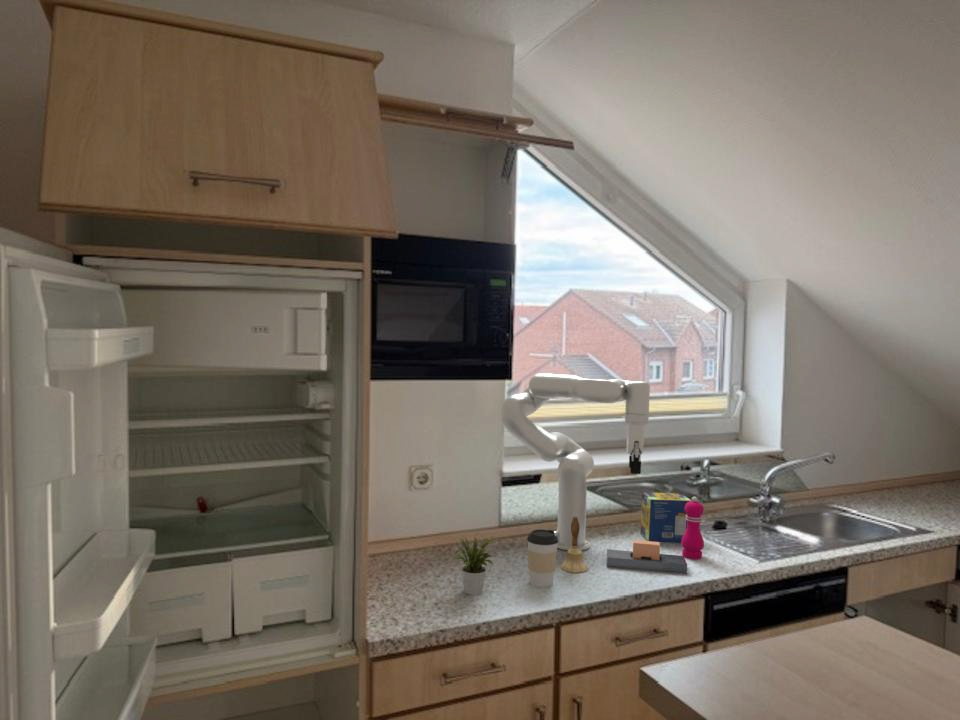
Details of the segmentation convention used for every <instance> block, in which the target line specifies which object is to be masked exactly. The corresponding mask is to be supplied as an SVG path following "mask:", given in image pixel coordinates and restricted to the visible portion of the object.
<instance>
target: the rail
mask: <svg viewBox="0 0 960 720" xmlns="http://www.w3.org/2000/svg"><path fill="white" fill-rule="evenodd" d="M606 566H607V568H618V569H627V570H629V569H630V570H639V571H651V572H661V573H670V574H671V573H672V574H680V573H682V574H681V575H687V574H688V563H687V560H686V557H684V556H683V555H676V554H675V555H674V554H668V553H667V554H665V553H660V560H652V559H651V557H643V556H641V558H633V550H632V551H629V550H621V549H619V550H618V549H608V548H607V549H606Z"/></svg>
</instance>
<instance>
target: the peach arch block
mask: <svg viewBox="0 0 960 720" xmlns="http://www.w3.org/2000/svg"><path fill="white" fill-rule="evenodd" d="M632 551H633V558H641V556H643V557H651V559H652V560H660V554H661V543H659V542H652V541H647V540H638V539H633V540H632Z"/></svg>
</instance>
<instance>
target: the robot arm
mask: <svg viewBox="0 0 960 720" xmlns="http://www.w3.org/2000/svg"><path fill="white" fill-rule="evenodd" d="M529 379H530V380H529V382H528V387H527V388H526V389H525V390H523V391H522V392H521V393H515V394H514V393H513V394H511V395H509V396H508V397H506V398H505V399H504V400H505V401H504V400H503V402H502V403H503V404H501V406H502V411H501V410H500V416H501V415H502V419H501V422H502V425H503V426H504V429H506V430H507V432H508V433H510V434H511V435H512V436H513V437H515V438H516V439H517V440H518V441H519V442H521V443H522V444H523V445H524V446H525V447H526V448H527V449H529V450H530V451H531V452H532V453H534V454H535V455H536V456H537V457H539V458H540V459H541V460H543V461H544V462H549V463H550V462H554V461H557V462H558V467H557V480H558V497H557V499H558V504H557V505H558V507H557V509H558V510H557V527H556V530H553V531H554V533H555V535H556V536H557V537H558V543H557V549H559V550H563V551H568V550H569V549H572V533H571V523H572V520H573V517H577V518H578V522H579V533H578V537H577V544H578V549H579V550H581V551H582V552H583V551H586V550H589V548H590V542H589V541H588V540H586V527H587V526H586V524H587V523H586V522H587V520H586V519H587V497H588V495H587V493H588V492H587V477H588V476H589V475H590V474H591V473H592V472H593V470H594V468H595V462H594V458H593V456H592V455H591V454H590V453H589V452H588V451H587V450H586V449H585V448H583V447H582V446H581V445H579V444H578V443H577V442H575V441H574V440H573V439H572V438H570V437H569V436H567V435H566V434H564V433H561V432H559V431H552V432H549V431H547V430H546V429H544V428H543V427H541V426H540V425H539V424H538V423H536V422H534V421H533V420H532V419H530V418H529V417H528V416H531V415H533V414H534V413H535V412H536V411H538V410H539V409H540V408H541V407H542V406H544V404H546V403H547V402H548V401H549V400H551V399H555V400H566V401H567V400H568V401H575V402H587V403H597V404H598V403H600V404H601V403H602V404H615V403H618V402H621V401H622V402H623V401H624V402H625V411H624V423H625V424H627V430H626V449H625V451H626V453H627V454H628V455H629V458H628V459H629V460H628V468H629V469H630V474H631V475H632V474H634V475H636V474H637V475H641V473H642V460H641V459H642V456H641V455H642V454H643V452H644V444H645V425H649V422H650V421H649V419H650V415H649V414H650V393H651V392H650V391H651V390H650V389H651V386H650V384H649V382H647V381H642V380H626V379H620V378H619V379H618V378H614V379H608V380H607V379H591V378H582V377H580V376H578V375H574V374H556V373H551V372H542V373H536V374H535V375H533V376H532V377H531V378H529Z"/></svg>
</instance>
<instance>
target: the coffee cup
mask: <svg viewBox="0 0 960 720" xmlns="http://www.w3.org/2000/svg"><path fill="white" fill-rule="evenodd" d="M554 531H555V530H552V529H534V530H532V531H531V532H530V533H529V534H527V538H526V541H527V549H526V550H527V564H528V565H527V568H528V576H529V577H528V579H529V580H528V581H529V584H530V585H531V586H533V587H537V588H550V587H552V586H553V585H554V579H555V578H554V577H555V571H556V563H557V555H558V548H557V543H558V537H557V536H556V535H555V533H554Z"/></svg>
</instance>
